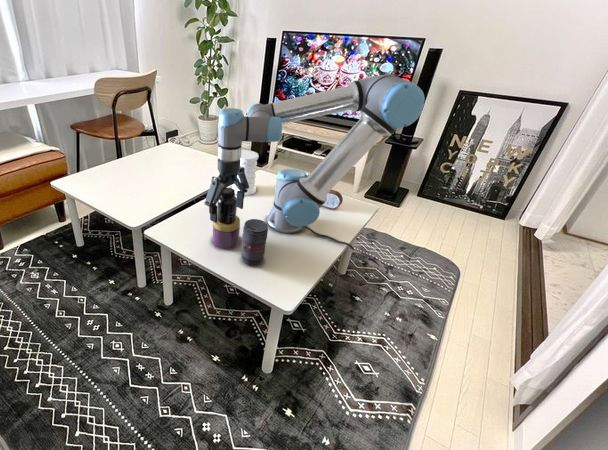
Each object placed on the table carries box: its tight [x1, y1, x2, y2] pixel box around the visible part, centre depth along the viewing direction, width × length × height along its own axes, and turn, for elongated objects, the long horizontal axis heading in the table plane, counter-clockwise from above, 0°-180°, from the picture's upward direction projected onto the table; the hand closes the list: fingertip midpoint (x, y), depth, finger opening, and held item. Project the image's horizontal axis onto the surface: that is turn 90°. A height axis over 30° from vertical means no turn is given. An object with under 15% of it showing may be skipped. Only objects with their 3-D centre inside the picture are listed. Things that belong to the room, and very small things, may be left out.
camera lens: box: [241, 218, 269, 267], centre depth 116 cm, size 8×8×15 cm
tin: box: [321, 189, 344, 210], centre depth 150 cm, size 15×3×8 cm, turn 58°
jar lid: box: [212, 215, 241, 232], centre depth 125 cm, size 10×10×2 cm
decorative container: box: [231, 149, 260, 196], centre depth 160 cm, size 12×12×18 cm
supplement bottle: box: [217, 187, 238, 224], centre depth 121 cm, size 7×7×12 cm
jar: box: [212, 225, 241, 250], centre depth 127 cm, size 10×10×9 cm
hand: (226, 214), depth 123 cm, fingers open, 13 cm apart
